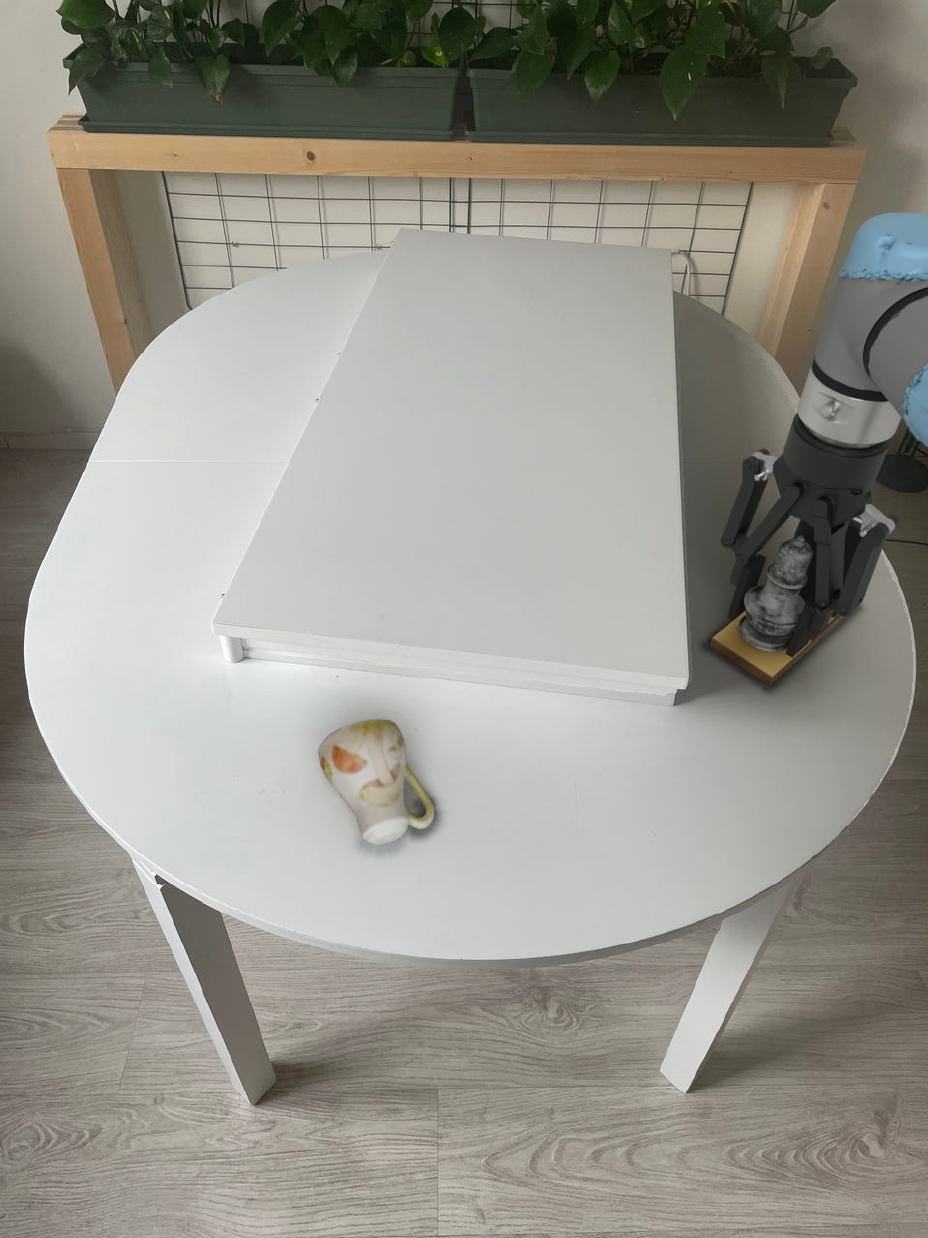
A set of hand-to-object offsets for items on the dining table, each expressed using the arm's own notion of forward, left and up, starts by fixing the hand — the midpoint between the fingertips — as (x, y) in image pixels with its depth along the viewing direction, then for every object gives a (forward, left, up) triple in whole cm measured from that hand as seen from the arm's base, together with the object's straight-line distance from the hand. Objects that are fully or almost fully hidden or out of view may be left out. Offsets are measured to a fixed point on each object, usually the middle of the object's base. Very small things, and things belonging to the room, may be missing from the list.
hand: (767, 629), depth 89 cm
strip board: (0, -5, -3) cm, 5 cm away
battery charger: (0, -9, -2) cm, 9 cm away
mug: (+12, +39, -3) cm, 41 cm away
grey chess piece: (0, 0, 0) cm, 0 cm away
